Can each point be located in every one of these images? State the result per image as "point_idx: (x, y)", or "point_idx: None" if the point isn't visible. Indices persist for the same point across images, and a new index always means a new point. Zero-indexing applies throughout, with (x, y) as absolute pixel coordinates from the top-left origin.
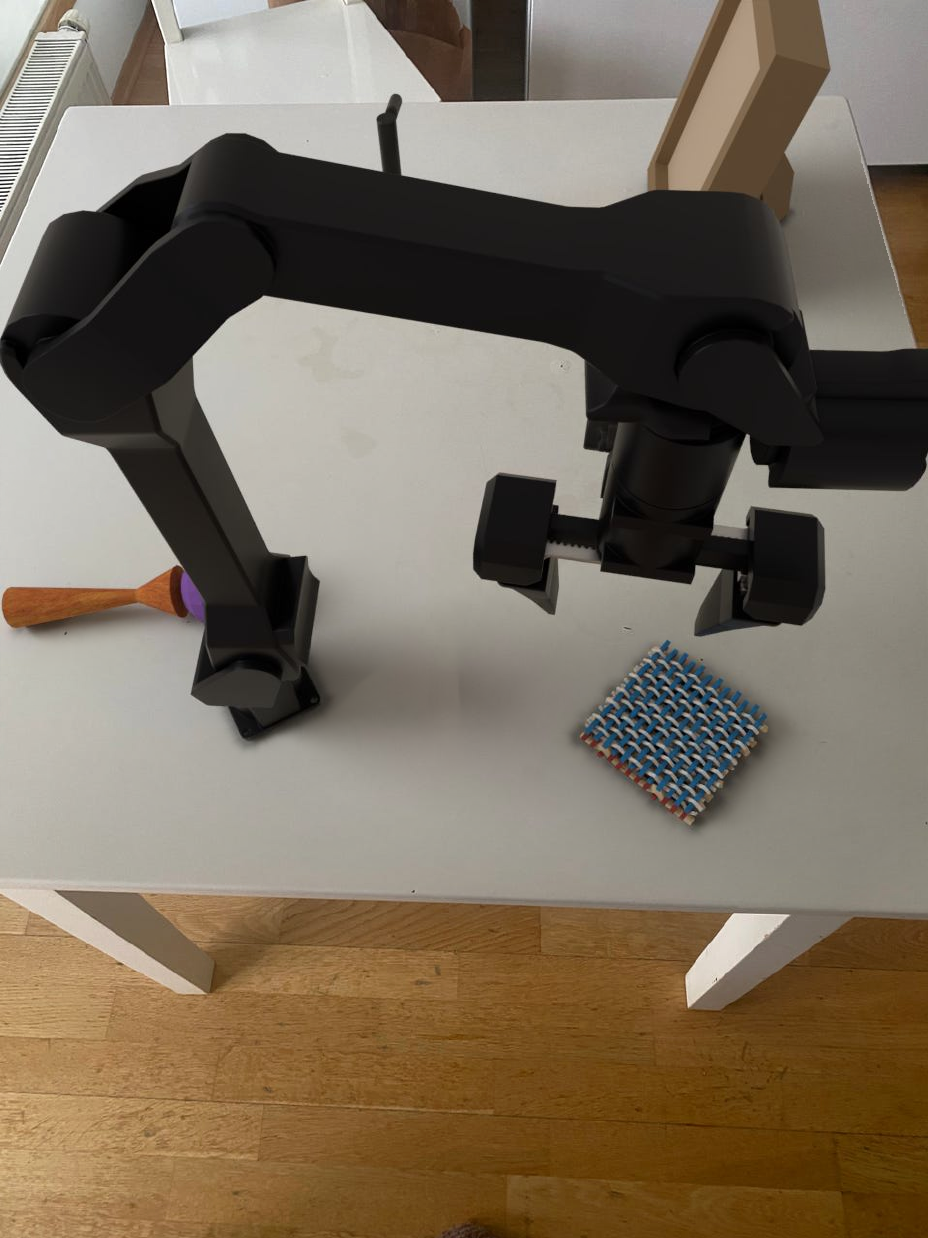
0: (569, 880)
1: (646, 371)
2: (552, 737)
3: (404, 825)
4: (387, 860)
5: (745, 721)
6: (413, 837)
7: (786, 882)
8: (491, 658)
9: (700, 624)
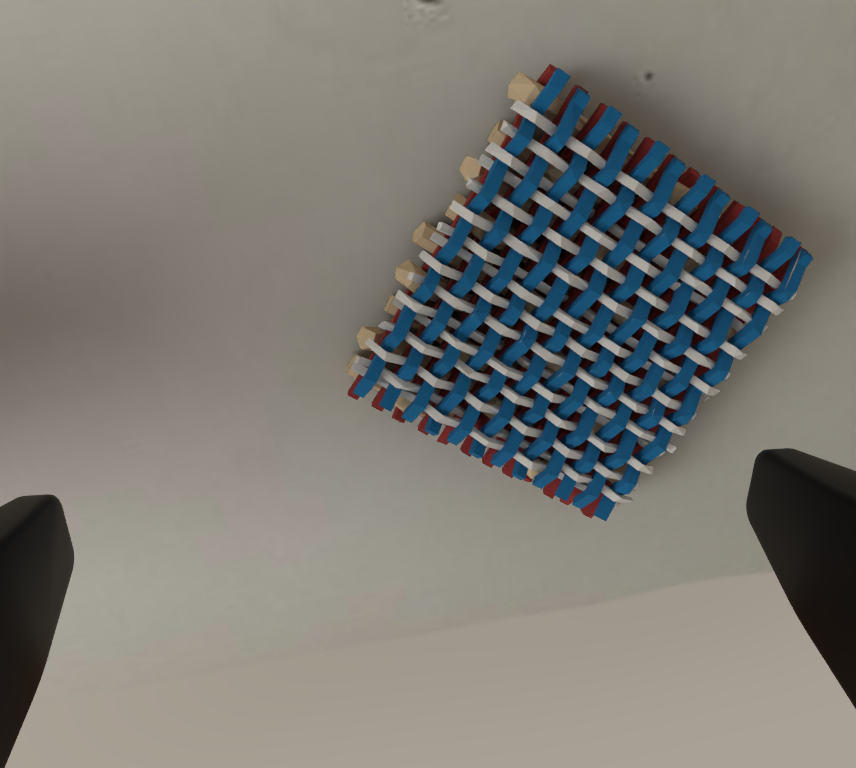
0: (376, 626)
1: None
2: (281, 375)
3: None
4: None
5: (757, 295)
6: None
7: None
8: (50, 187)
9: (821, 612)
